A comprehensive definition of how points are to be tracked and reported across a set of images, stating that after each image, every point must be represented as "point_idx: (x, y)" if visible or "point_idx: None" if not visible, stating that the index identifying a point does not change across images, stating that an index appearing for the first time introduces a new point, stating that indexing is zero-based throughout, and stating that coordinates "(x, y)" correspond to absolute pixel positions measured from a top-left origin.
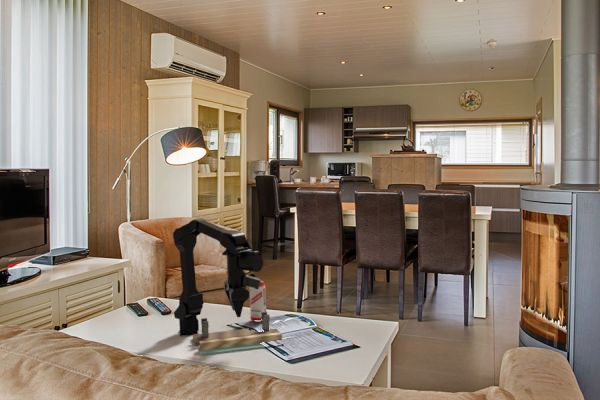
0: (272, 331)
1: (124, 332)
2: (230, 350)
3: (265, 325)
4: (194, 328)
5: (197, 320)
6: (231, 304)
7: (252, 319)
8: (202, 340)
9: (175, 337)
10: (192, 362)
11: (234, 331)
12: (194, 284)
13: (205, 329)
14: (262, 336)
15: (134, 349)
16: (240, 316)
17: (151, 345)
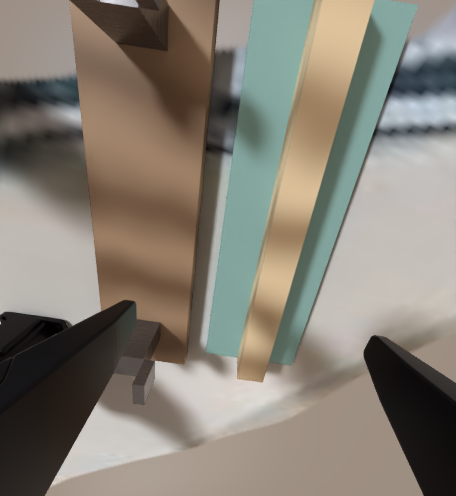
0: None
1: None
2: (318, 287)
3: (154, 16)
4: (39, 339)
5: (2, 352)
6: (105, 384)
7: None
8: (185, 345)
9: None
10: (329, 387)
11: (112, 213)
12: None
13: (148, 357)
14: (336, 128)
15: (152, 451)
16: (388, 339)
17: (135, 425)
